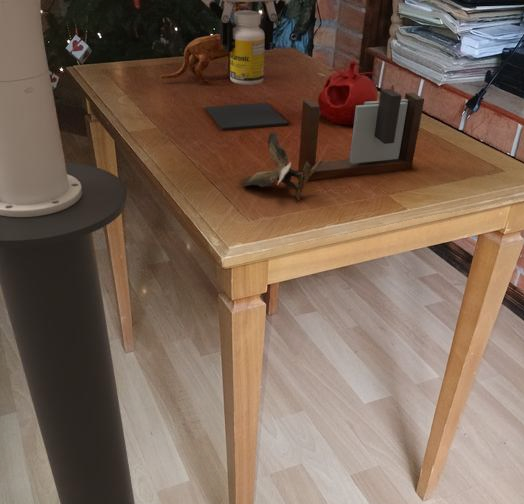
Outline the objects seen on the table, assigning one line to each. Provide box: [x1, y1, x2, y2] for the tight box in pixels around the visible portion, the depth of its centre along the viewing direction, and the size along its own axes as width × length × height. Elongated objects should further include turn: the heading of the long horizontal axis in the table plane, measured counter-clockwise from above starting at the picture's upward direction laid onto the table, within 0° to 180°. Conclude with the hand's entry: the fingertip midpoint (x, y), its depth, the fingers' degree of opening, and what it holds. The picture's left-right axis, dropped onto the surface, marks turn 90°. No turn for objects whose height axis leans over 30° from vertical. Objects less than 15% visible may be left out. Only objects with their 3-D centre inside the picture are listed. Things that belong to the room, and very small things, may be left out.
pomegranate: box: [317, 59, 378, 126], centre depth 100 cm, size 10×10×9 cm
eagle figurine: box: [243, 131, 323, 201], centre depth 78 cm, size 8×7×9 cm
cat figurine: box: [160, 2, 253, 83], centre depth 115 cm, size 18×7×14 cm, turn 111°
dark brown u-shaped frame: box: [297, 92, 425, 181], centre depth 83 cm, size 16×3×10 cm, turn 108°
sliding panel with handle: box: [349, 88, 408, 164], centre depth 81 cm, size 7×4×10 cm, turn 108°
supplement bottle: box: [229, 10, 265, 86], centre depth 96 cm, size 5×5×10 cm
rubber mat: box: [205, 102, 289, 131], centre depth 103 cm, size 11×11×1 cm
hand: (246, 47), depth 96 cm, fingers closed on supplement bottle, 5 cm apart
